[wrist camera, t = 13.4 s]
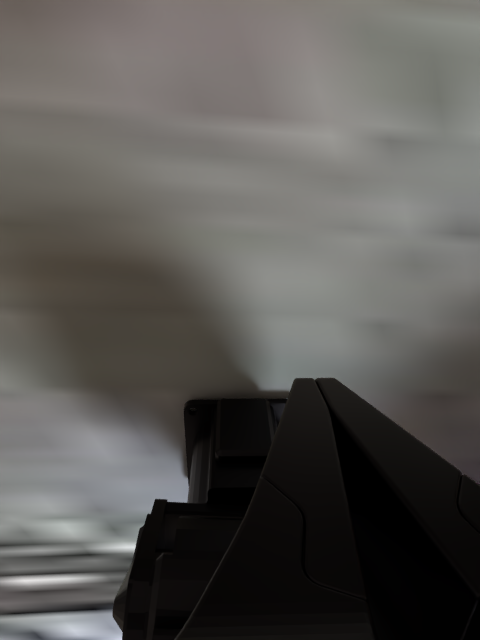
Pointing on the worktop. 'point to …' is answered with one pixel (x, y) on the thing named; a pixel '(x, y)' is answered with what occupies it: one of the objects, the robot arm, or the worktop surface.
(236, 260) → the worktop surface
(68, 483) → the worktop surface
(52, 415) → the worktop surface
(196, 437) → the robot arm
